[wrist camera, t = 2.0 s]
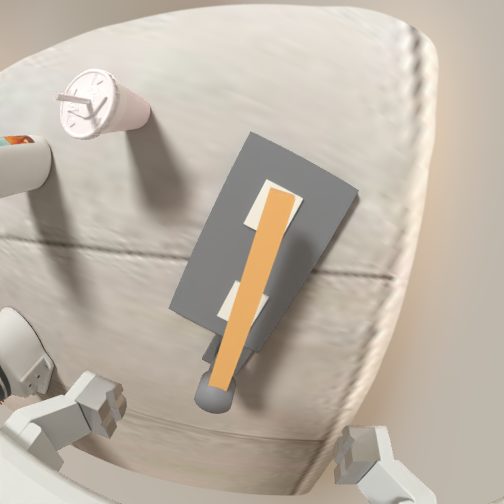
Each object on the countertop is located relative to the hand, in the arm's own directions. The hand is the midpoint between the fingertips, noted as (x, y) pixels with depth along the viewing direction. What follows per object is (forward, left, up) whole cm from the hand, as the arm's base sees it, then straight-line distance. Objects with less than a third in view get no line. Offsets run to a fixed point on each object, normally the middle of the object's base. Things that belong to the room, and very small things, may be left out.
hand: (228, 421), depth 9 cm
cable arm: (-6, -1, -18) cm, 19 cm away
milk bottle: (-5, +33, -24) cm, 41 cm away
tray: (-2, 0, -23) cm, 23 cm away
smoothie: (+6, +19, -24) cm, 31 cm away
